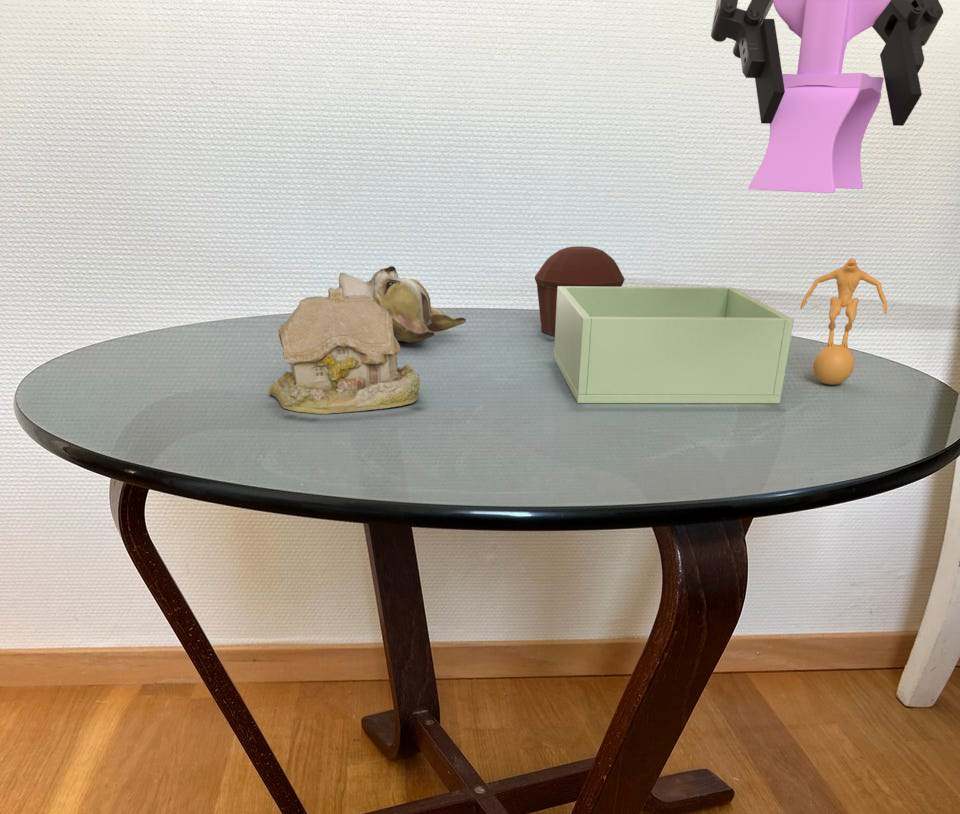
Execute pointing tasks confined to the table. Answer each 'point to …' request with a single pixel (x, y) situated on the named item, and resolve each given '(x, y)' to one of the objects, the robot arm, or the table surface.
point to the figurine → (838, 359)
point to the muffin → (572, 277)
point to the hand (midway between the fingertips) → (840, 109)
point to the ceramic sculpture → (401, 304)
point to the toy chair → (821, 101)
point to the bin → (670, 345)
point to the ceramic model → (342, 357)
